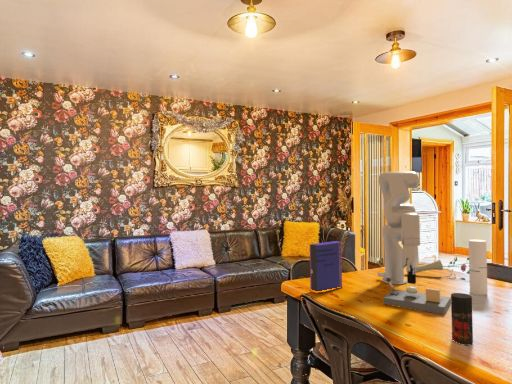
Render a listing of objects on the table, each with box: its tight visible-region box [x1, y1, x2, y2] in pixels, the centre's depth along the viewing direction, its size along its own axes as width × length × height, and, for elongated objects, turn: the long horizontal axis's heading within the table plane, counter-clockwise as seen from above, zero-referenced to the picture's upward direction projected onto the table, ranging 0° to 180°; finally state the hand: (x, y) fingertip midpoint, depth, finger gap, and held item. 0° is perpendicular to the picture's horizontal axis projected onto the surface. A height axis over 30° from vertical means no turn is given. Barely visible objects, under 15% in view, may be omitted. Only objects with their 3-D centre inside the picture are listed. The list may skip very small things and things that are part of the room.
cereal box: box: [309, 240, 343, 291], centre depth 180 cm, size 17×5×24 cm, turn 123°
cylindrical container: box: [468, 239, 488, 296], centre depth 169 cm, size 7×7×25 cm
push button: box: [405, 285, 418, 294], centre depth 155 cm, size 4×4×2 cm
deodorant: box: [450, 292, 474, 345], centre depth 116 cm, size 6×6×15 cm
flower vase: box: [405, 256, 469, 276], centre depth 203 cm, size 12×12×35 cm
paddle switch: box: [425, 287, 441, 303], centre depth 148 cm, size 5×2×5 cm, turn 53°
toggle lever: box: [386, 277, 395, 291], centre depth 161 cm, size 2×2×6 cm
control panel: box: [382, 288, 451, 316], centre depth 154 cm, size 24×16×4 cm, turn 53°
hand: (411, 283), depth 155 cm, fingers closed
